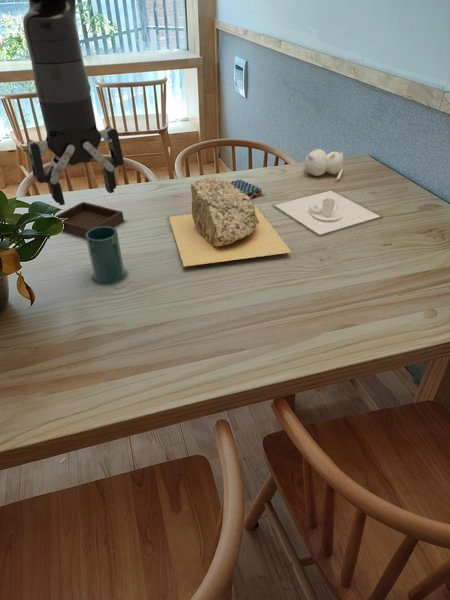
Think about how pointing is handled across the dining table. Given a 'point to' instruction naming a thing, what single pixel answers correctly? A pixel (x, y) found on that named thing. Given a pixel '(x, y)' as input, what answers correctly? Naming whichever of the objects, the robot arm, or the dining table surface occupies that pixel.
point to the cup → (105, 254)
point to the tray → (89, 218)
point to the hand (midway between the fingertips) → (86, 197)
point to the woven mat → (247, 188)
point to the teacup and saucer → (326, 212)
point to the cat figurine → (324, 163)
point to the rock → (223, 226)
